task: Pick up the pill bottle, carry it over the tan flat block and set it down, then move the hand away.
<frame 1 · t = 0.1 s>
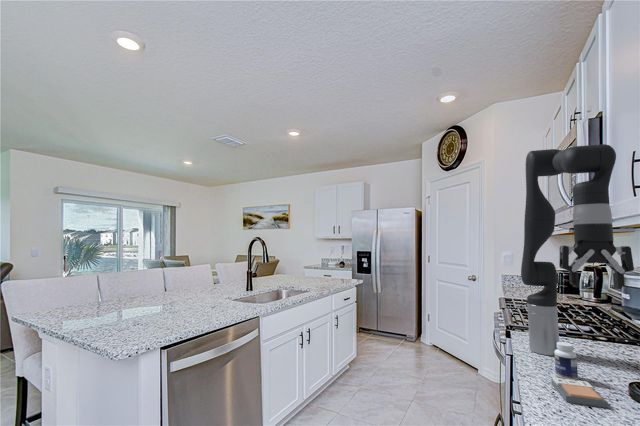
hand: (596, 287, 80), 29 cm above the worktop, tool pointing down, fingers open, 8 cm apart
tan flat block: (577, 395, 85), on the worktop
pill bottle: (566, 377, 96), on the worktop
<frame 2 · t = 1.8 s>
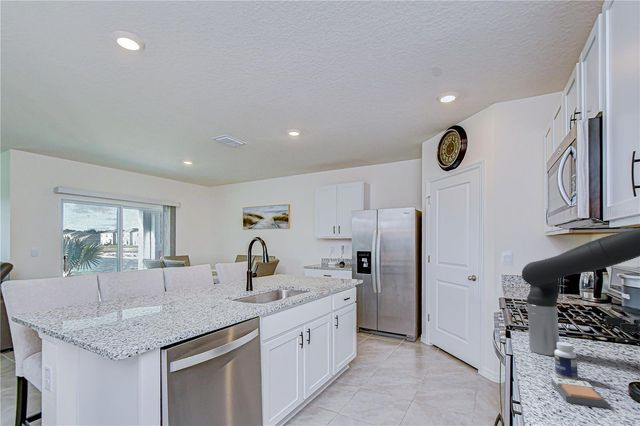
hand: (612, 323, 94), 17 cm above the worktop, tool horizontal, fingers open, 8 cm apart
nothing on the worktop moved.
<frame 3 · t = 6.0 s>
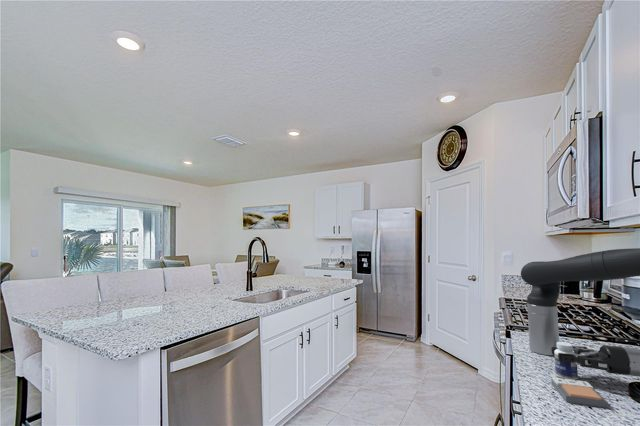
hand: (555, 353, 98), 7 cm above the worktop, tool horizontal, fingers closed on pill bottle, 5 cm apart
pill bottle: (566, 377, 96), on the worktop, touching gripper
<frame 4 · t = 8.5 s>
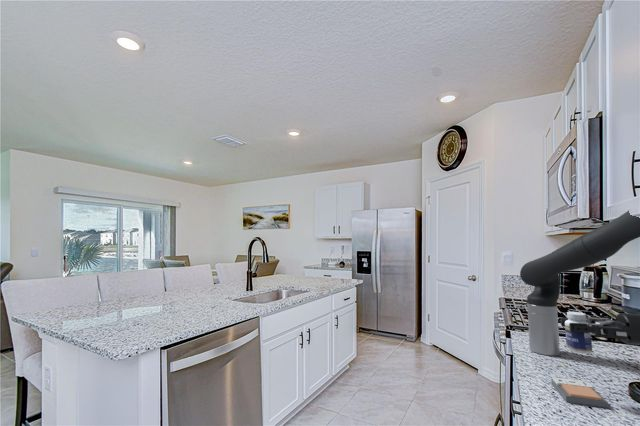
hand: (565, 324, 86), 18 cm above the worktop, tool horizontal, fingers closed on pill bottle, 5 cm apart
pill bottle: (579, 351, 85), point 12 cm above the worktop, touching gripper
when the fingers open (9 cm above the worktop, at t = 10.8 s): pill bottle stays where it is, resting on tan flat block.
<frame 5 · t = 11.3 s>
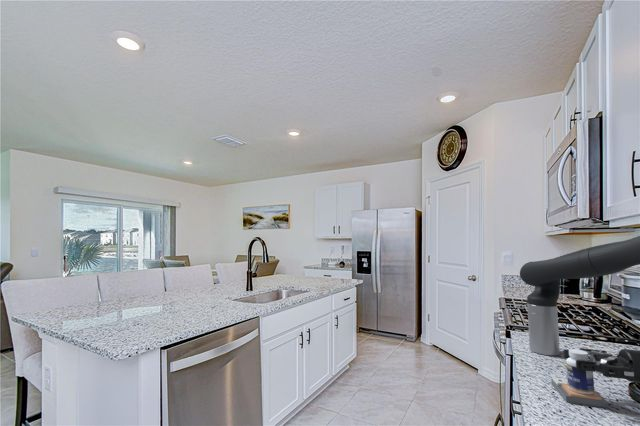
hand: (569, 358, 84), 10 cm above the worktop, tool horizontal, fingers open, 8 cm apart
pill bottle: (581, 391, 83), point 2 cm above the worktop, touching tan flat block
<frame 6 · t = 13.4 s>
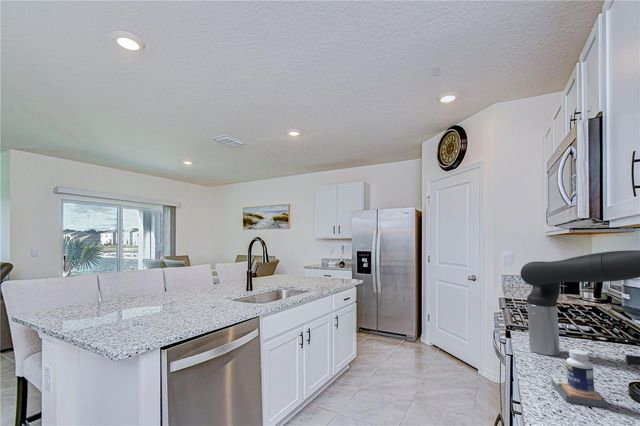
hand: (635, 365, 80), 10 cm above the worktop, tool horizontal, fingers open, 8 cm apart
nothing on the worktop moved.
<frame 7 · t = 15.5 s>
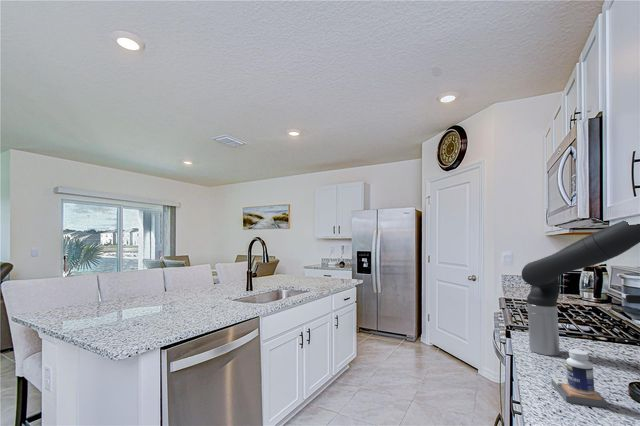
hand: (635, 301, 84), 25 cm above the worktop, tool horizontal, fingers open, 8 cm apart
nothing on the worktop moved.
at the end: pill bottle 0.2 cm from the target spot on the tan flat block, point 1.9 cm above the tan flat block's base; pill bottle tilted 0°; the gripper is holding nothing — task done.
